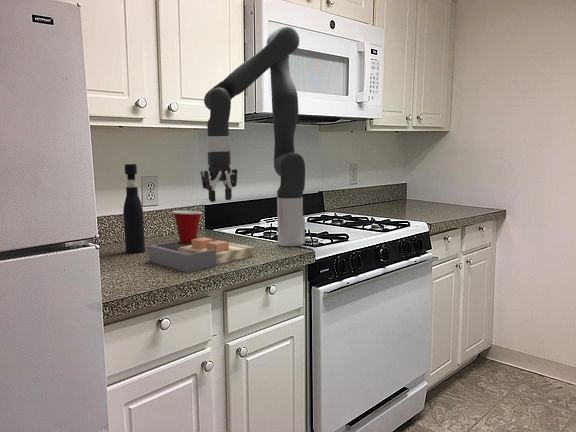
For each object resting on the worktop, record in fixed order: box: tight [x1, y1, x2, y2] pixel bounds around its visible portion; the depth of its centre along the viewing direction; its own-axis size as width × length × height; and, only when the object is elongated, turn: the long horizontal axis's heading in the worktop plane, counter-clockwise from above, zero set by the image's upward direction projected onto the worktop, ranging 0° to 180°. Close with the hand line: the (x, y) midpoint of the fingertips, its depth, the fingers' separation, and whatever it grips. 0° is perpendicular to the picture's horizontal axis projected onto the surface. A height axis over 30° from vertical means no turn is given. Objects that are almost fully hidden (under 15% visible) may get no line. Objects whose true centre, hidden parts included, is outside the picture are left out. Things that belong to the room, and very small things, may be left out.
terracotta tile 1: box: [191, 237, 214, 249], centre depth 160 cm, size 5×5×2 cm
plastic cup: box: [172, 210, 203, 245], centre depth 183 cm, size 11×11×12 cm
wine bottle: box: [123, 163, 146, 254], centre depth 166 cm, size 6×6×30 cm
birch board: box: [179, 239, 254, 265], centre depth 160 cm, size 16×18×3 cm
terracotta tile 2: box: [206, 240, 229, 253], centre depth 155 cm, size 5×5×2 cm
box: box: [147, 240, 217, 273], centre depth 150 cm, size 10×21×5 cm, turn 46°
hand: (220, 200), depth 164 cm, fingers open, 6 cm apart
